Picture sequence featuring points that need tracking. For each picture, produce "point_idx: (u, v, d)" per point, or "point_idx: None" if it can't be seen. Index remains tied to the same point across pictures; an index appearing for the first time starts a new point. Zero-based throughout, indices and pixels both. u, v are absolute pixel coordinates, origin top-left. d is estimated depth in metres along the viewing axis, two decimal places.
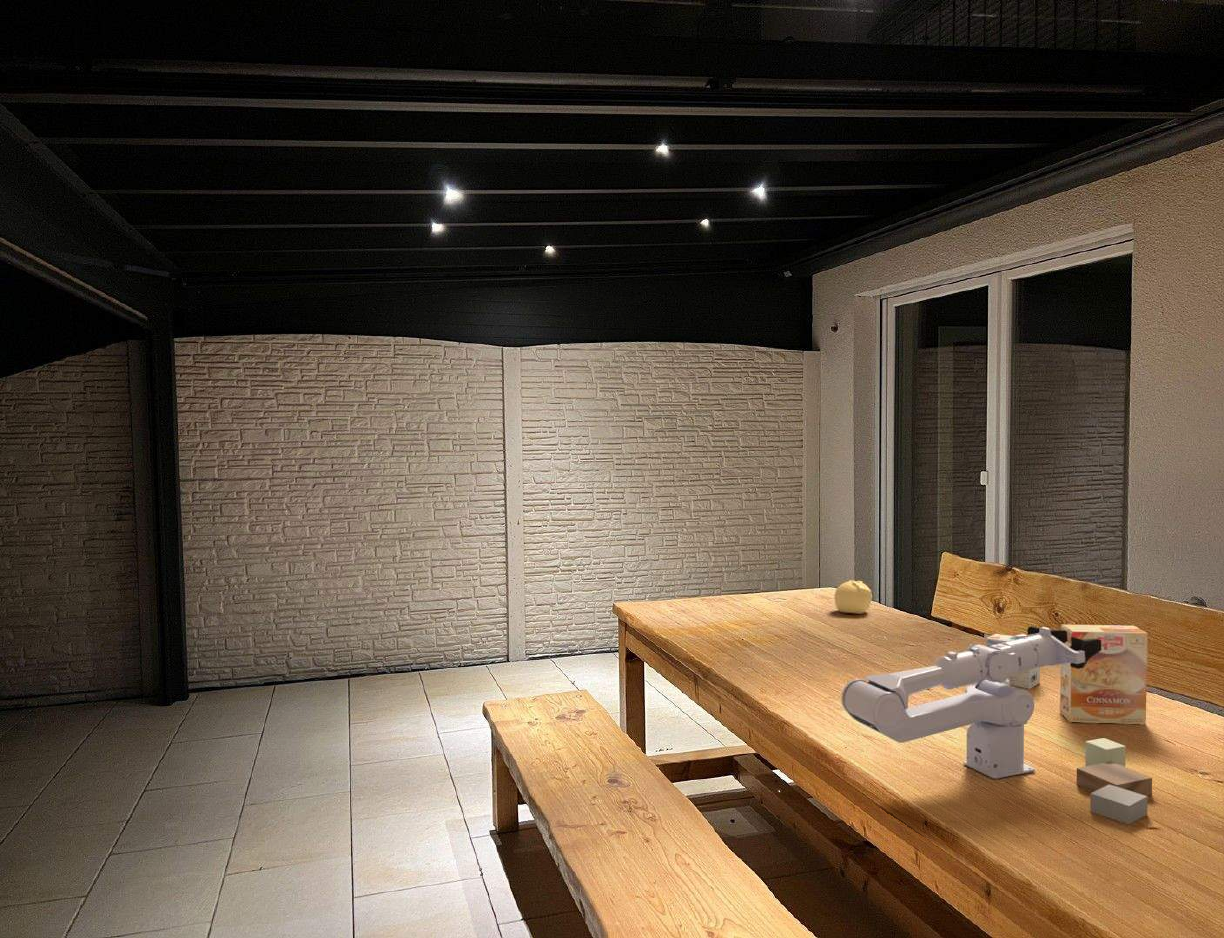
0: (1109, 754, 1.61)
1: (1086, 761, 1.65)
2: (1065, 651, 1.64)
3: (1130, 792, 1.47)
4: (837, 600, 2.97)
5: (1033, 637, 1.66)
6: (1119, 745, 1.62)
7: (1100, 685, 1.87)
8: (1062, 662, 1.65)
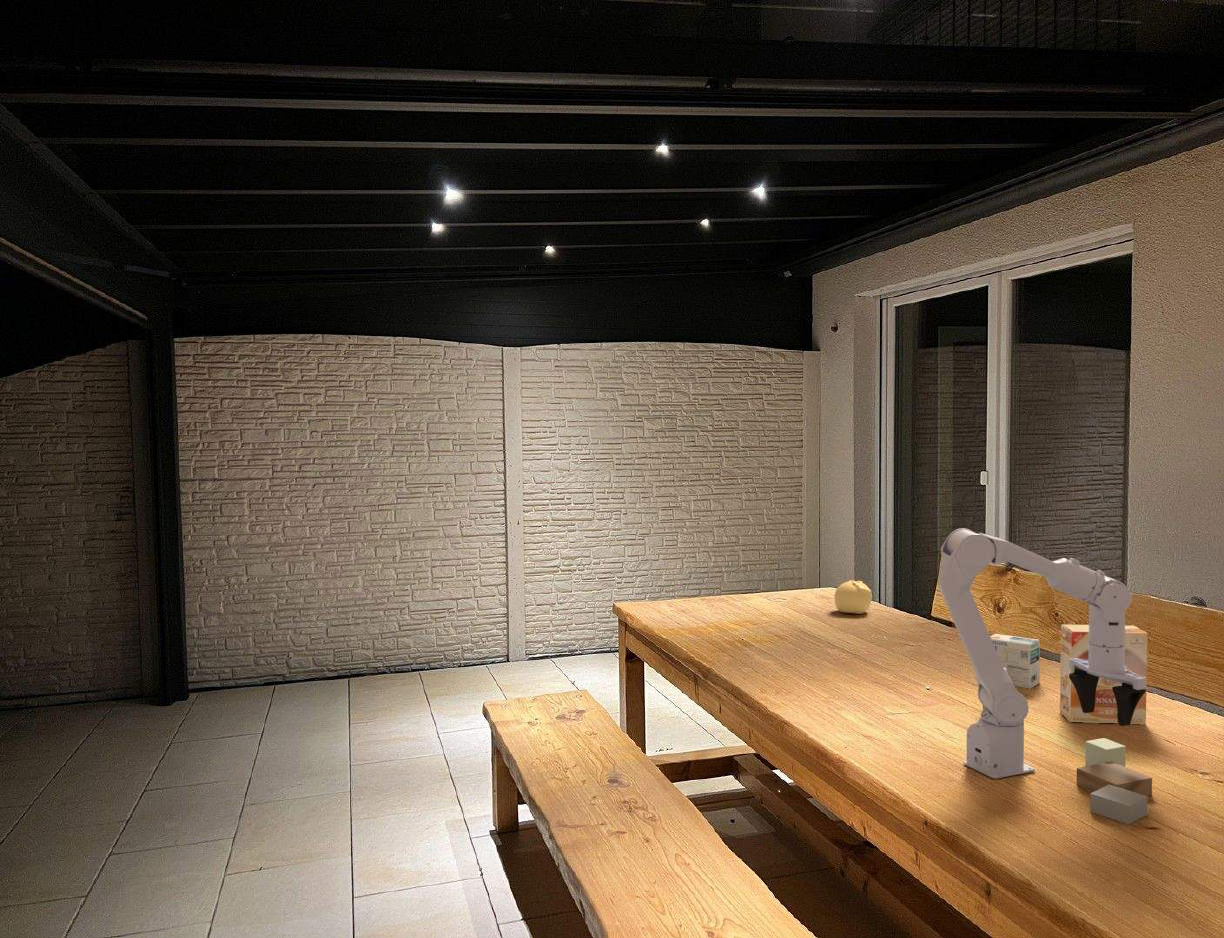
0: (1109, 754, 1.61)
1: (1086, 761, 1.65)
2: (1131, 674, 1.58)
3: (1130, 792, 1.47)
4: (837, 600, 2.97)
5: None
6: (1119, 745, 1.62)
7: (1100, 685, 1.87)
8: None
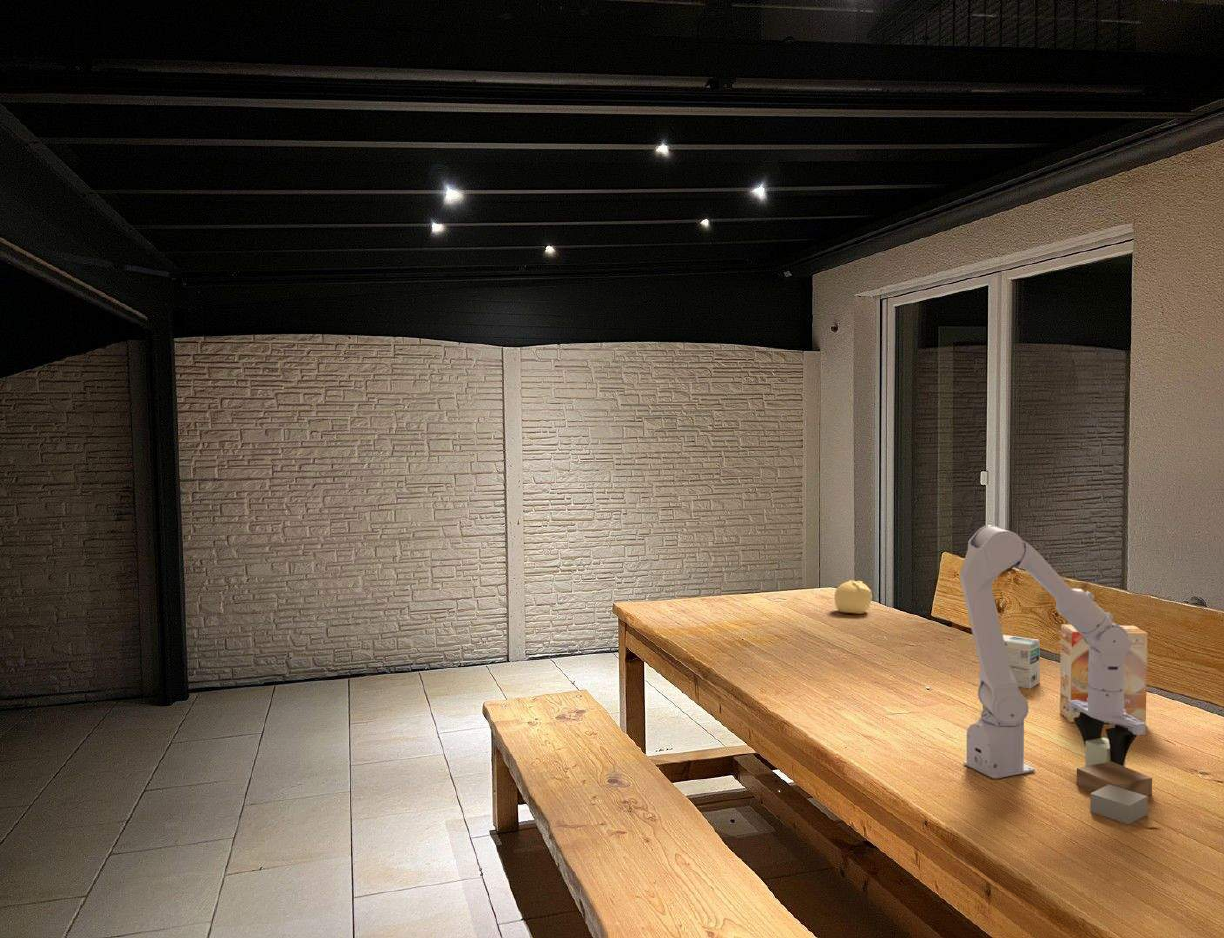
0: (1109, 754, 1.61)
1: (1086, 761, 1.65)
2: (1131, 719, 1.59)
3: (1130, 792, 1.47)
4: (837, 600, 2.97)
5: None
6: None
7: None
8: None
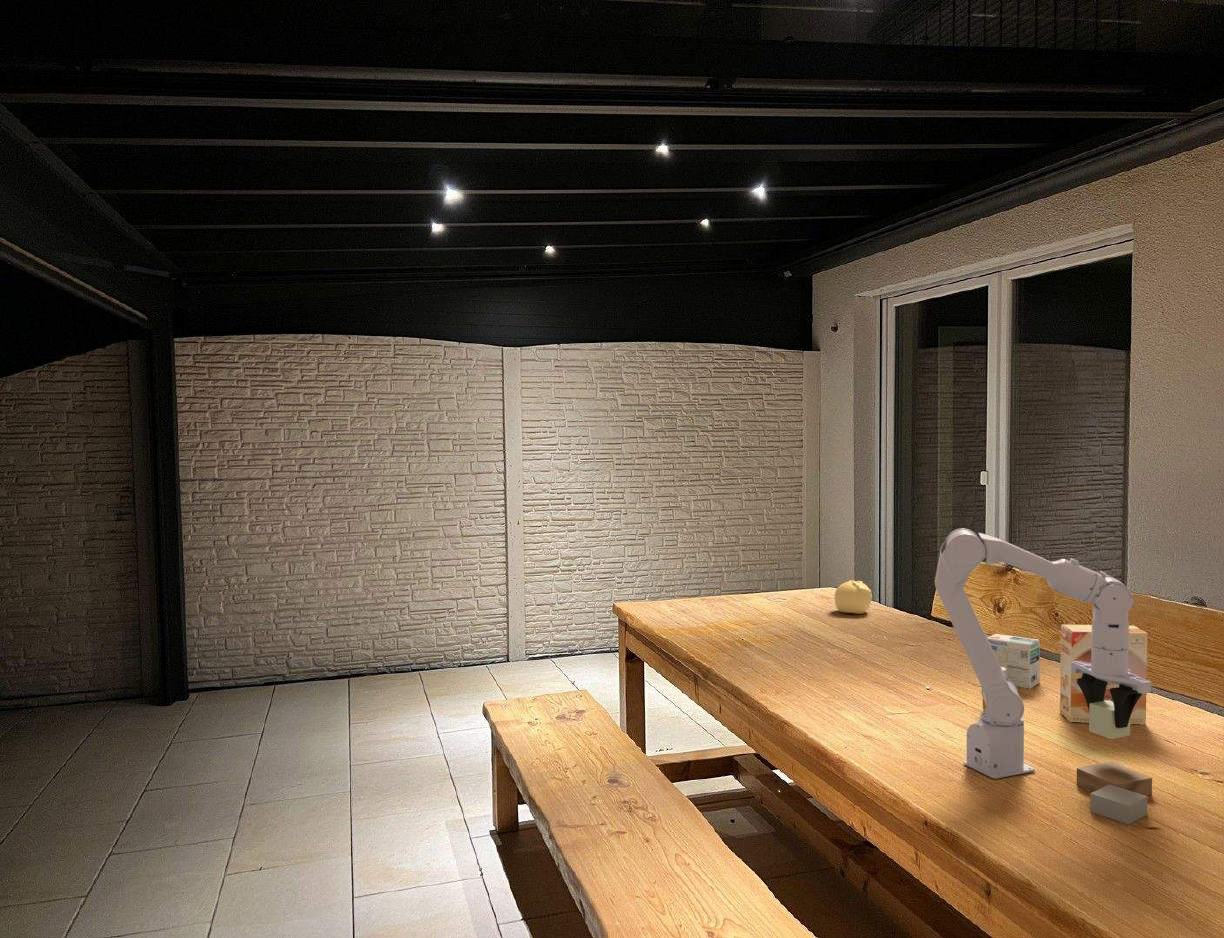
0: (1114, 716, 1.57)
1: (1090, 723, 1.61)
2: (1135, 678, 1.55)
3: (1130, 792, 1.47)
4: (837, 600, 2.97)
5: None
6: None
7: None
8: None
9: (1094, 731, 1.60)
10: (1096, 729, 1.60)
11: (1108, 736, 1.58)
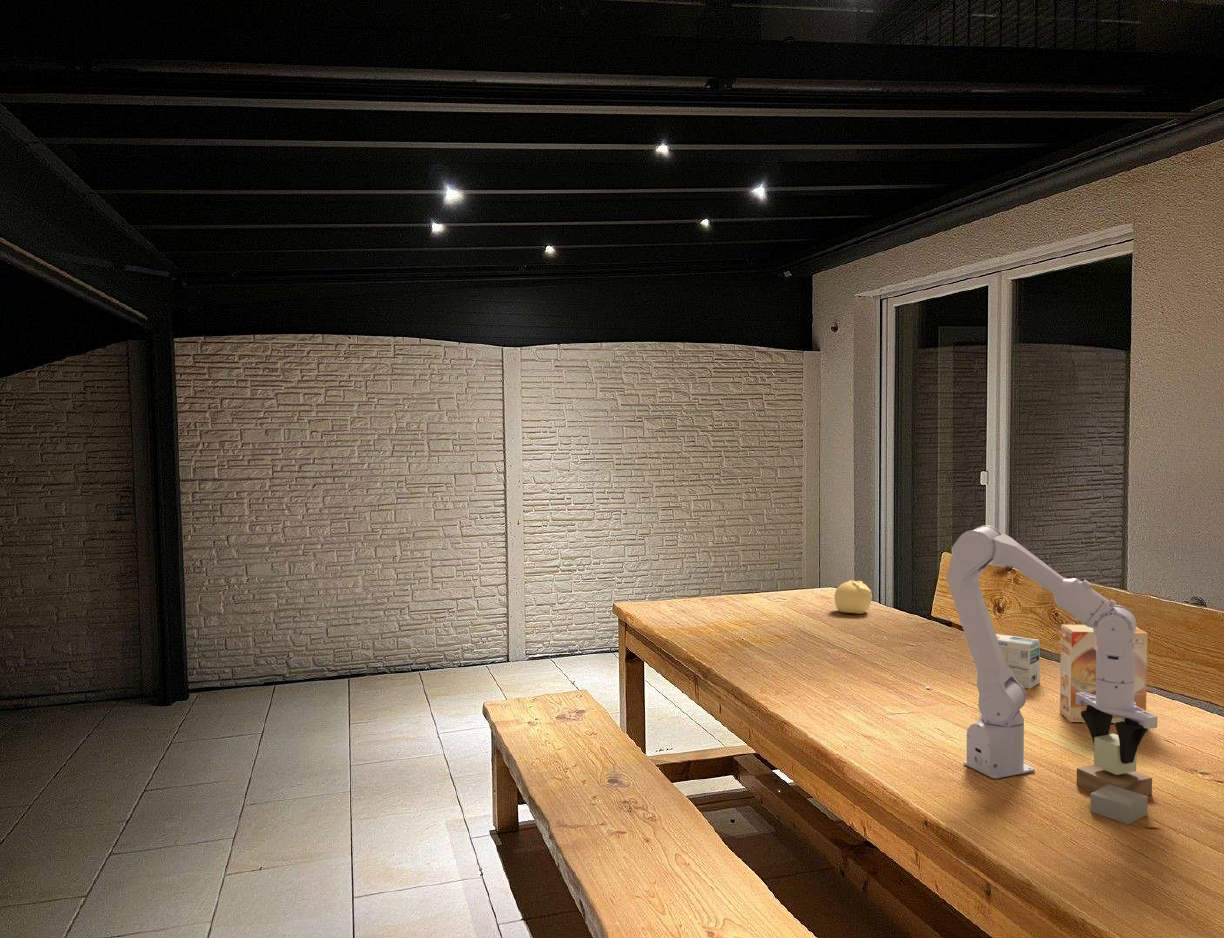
0: (1119, 751, 1.52)
1: (1095, 758, 1.56)
2: (1141, 712, 1.50)
3: (1130, 792, 1.47)
4: (837, 600, 2.97)
5: None
6: None
7: None
8: (1126, 713, 1.50)
9: (1099, 766, 1.55)
10: (1101, 764, 1.55)
11: (1114, 772, 1.52)
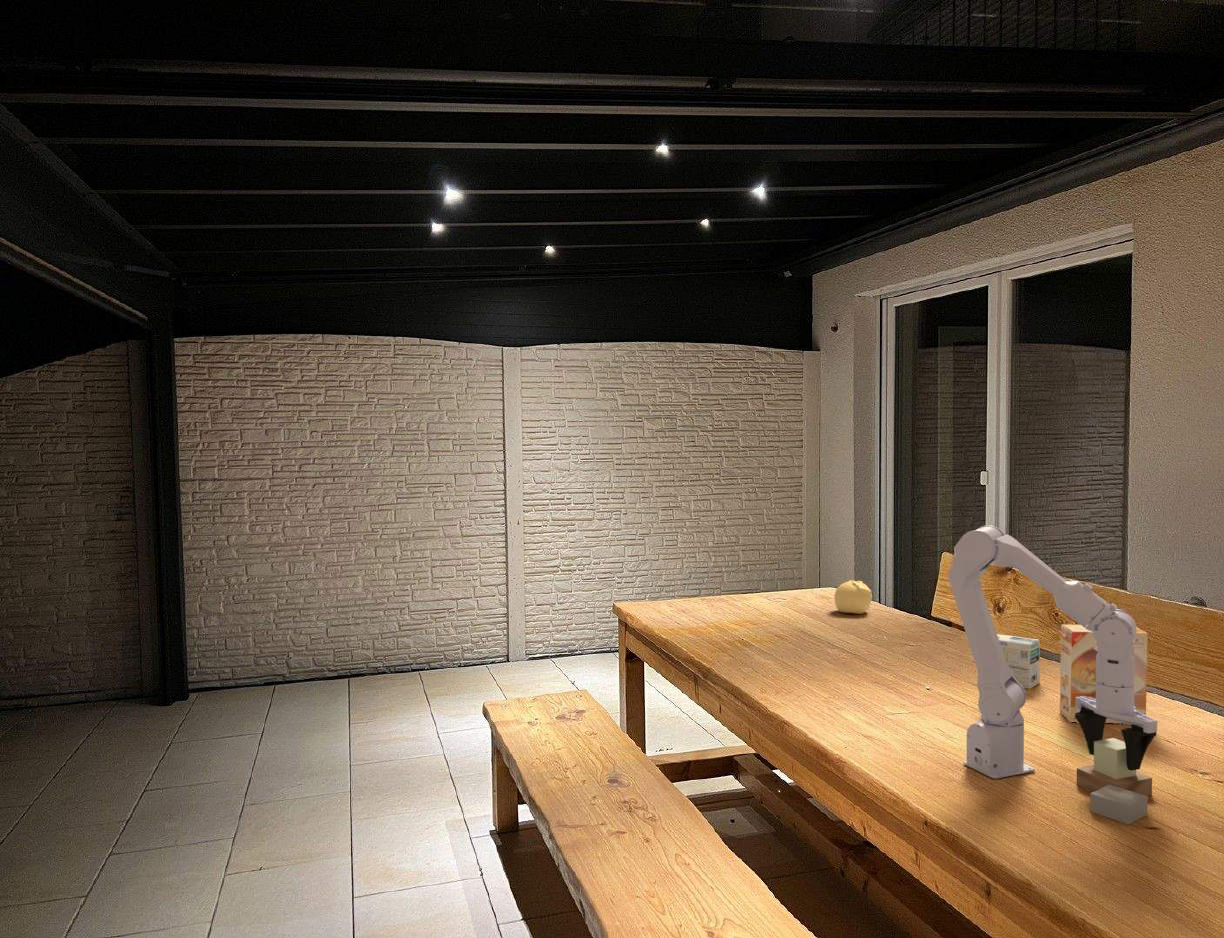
0: (1119, 755, 1.52)
1: (1095, 762, 1.56)
2: (1141, 716, 1.50)
3: (1130, 792, 1.47)
4: (837, 600, 2.97)
5: None
6: None
7: None
8: None
9: (1099, 770, 1.55)
10: (1101, 768, 1.55)
11: (1113, 776, 1.53)
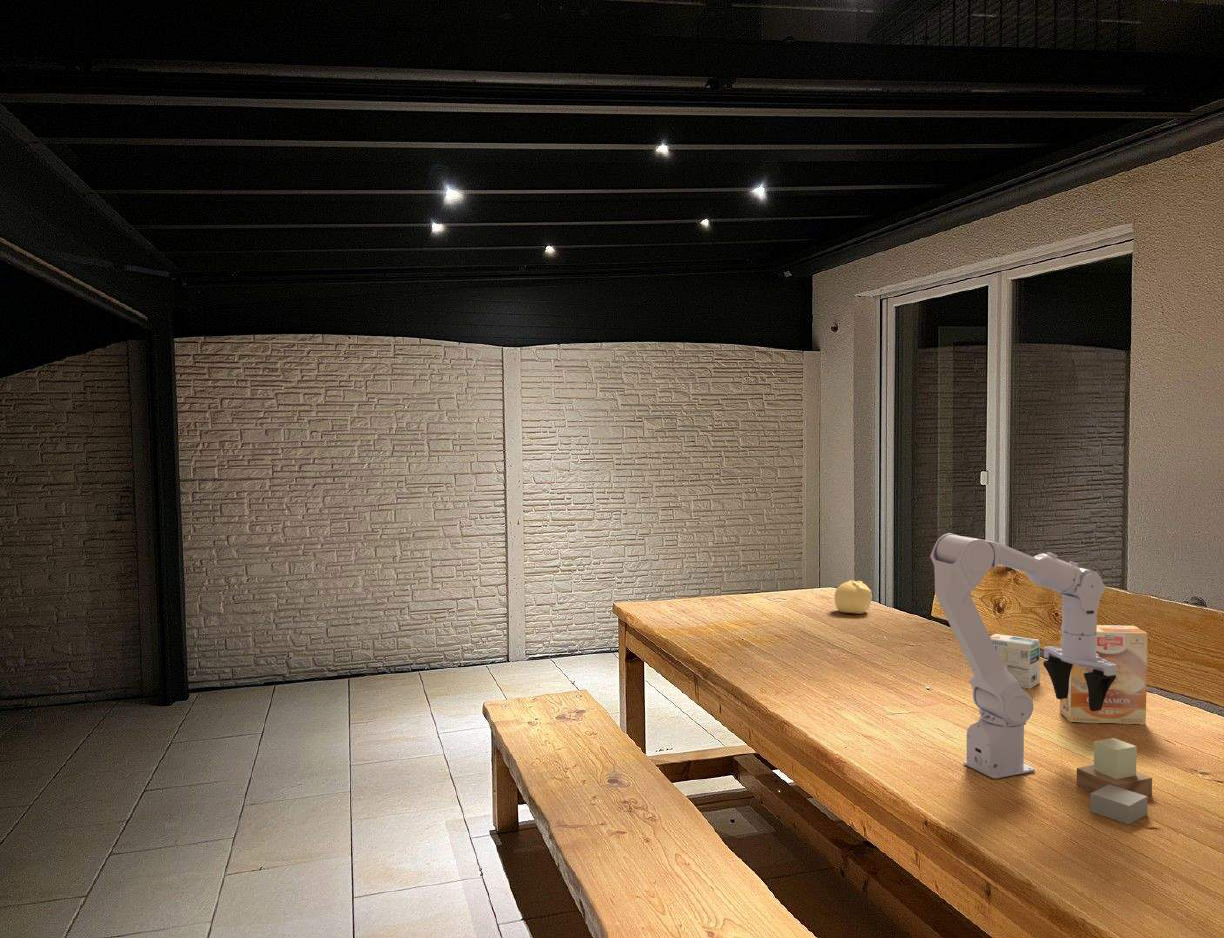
0: (1119, 755, 1.52)
1: (1095, 762, 1.56)
2: (1102, 661, 1.64)
3: (1130, 792, 1.47)
4: (837, 600, 2.97)
5: None
6: (1130, 745, 1.54)
7: None
8: (1088, 662, 1.64)
9: (1099, 770, 1.55)
10: (1101, 768, 1.55)
11: (1113, 776, 1.53)
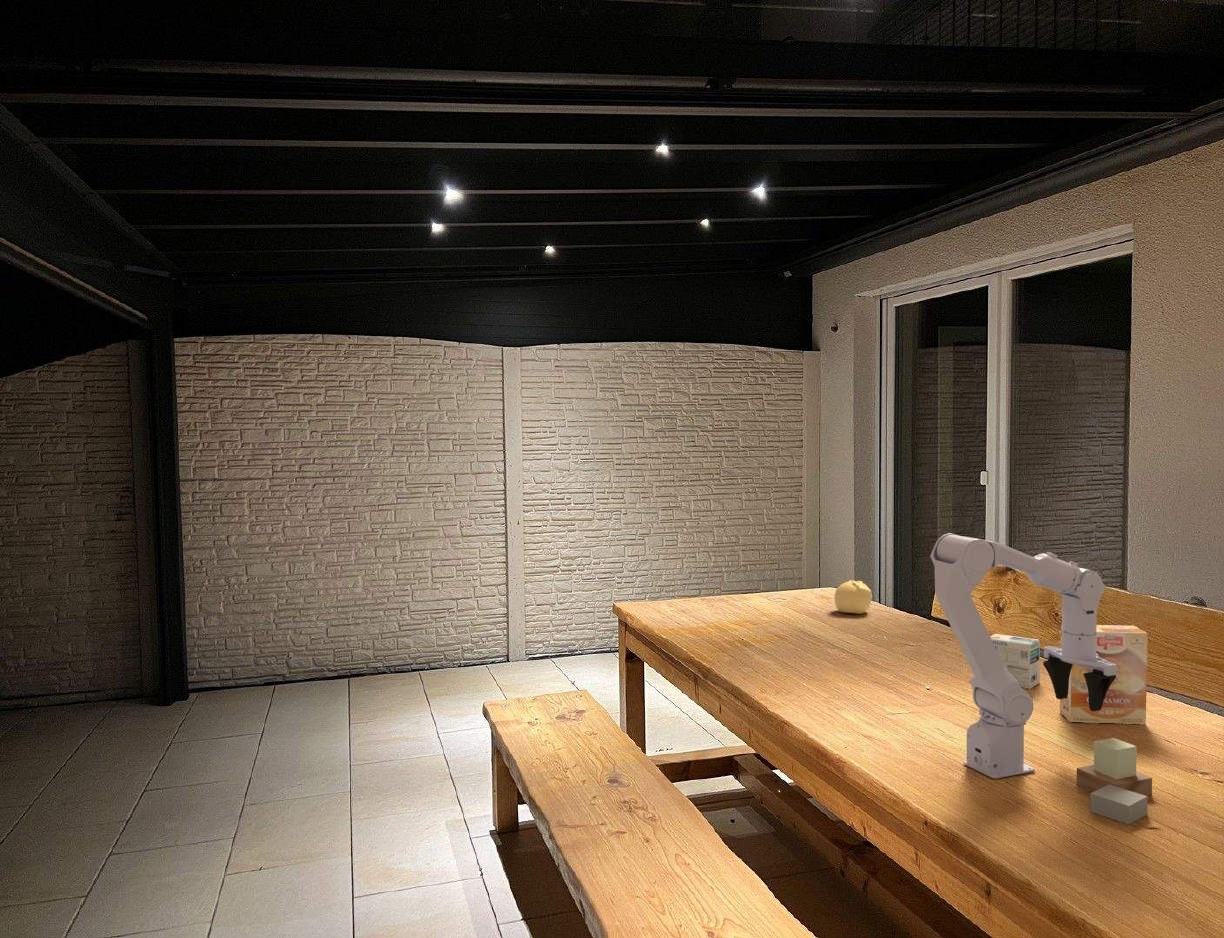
0: (1119, 755, 1.52)
1: (1095, 762, 1.56)
2: (1102, 661, 1.64)
3: (1130, 792, 1.47)
4: (837, 600, 2.97)
5: None
6: (1130, 745, 1.54)
7: None
8: (1088, 662, 1.64)
9: (1099, 770, 1.55)
10: (1101, 768, 1.55)
11: (1113, 776, 1.53)
